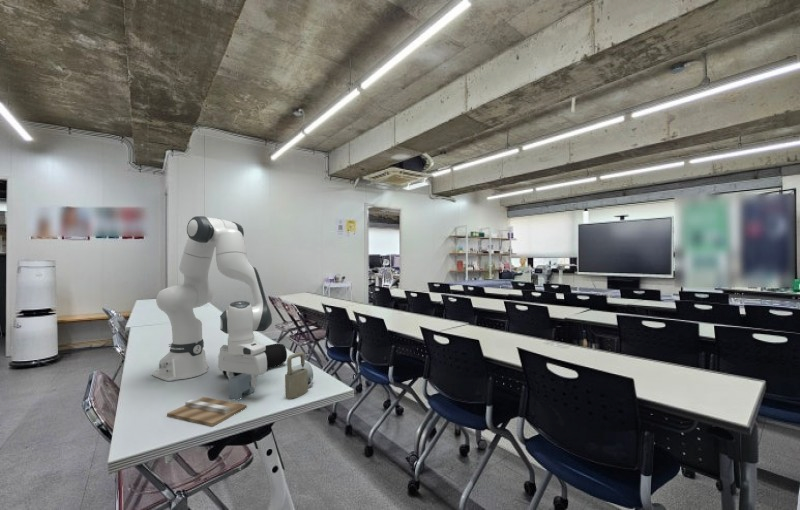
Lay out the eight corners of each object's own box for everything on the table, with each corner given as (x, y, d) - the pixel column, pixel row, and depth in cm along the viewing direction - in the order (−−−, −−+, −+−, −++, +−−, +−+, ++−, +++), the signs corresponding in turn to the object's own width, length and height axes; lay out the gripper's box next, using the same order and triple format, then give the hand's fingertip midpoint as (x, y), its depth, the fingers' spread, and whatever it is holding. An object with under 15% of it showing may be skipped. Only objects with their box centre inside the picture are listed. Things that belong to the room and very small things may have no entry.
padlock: (309, 391, 127) (308, 351, 127) (291, 399, 121) (290, 357, 120) (302, 389, 130) (301, 349, 129) (284, 397, 123) (283, 355, 123)
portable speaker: (279, 361, 165) (278, 340, 165) (288, 366, 158) (287, 344, 157) (221, 375, 148) (220, 351, 148) (227, 381, 141) (227, 356, 141)
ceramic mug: (285, 384, 135) (285, 364, 135) (305, 378, 141) (304, 360, 141) (298, 392, 128) (297, 371, 127) (318, 386, 133) (317, 366, 133)
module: (229, 398, 123) (228, 379, 123) (245, 390, 130) (245, 372, 130) (237, 400, 121) (237, 380, 121) (254, 392, 128) (253, 373, 128)
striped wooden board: (167, 416, 110) (166, 408, 110) (203, 399, 122) (203, 392, 122) (212, 426, 103) (212, 418, 103) (246, 408, 115) (246, 400, 115)
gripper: (212, 346, 126) (214, 384, 127) (256, 351, 119) (257, 390, 119) (227, 342, 132) (228, 378, 132) (269, 346, 125) (270, 384, 125)
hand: (242, 384), depth 126 cm, fingers open, 8 cm apart
